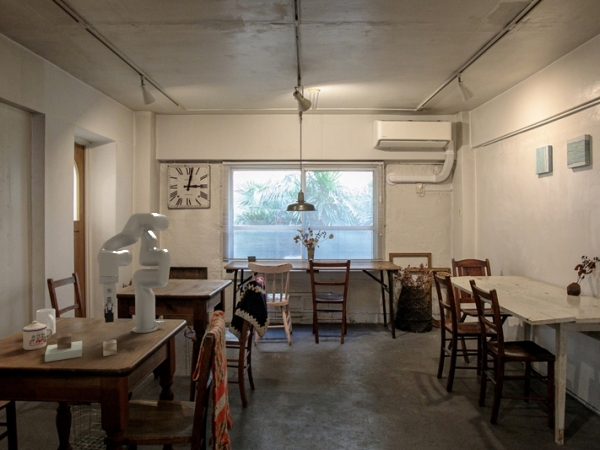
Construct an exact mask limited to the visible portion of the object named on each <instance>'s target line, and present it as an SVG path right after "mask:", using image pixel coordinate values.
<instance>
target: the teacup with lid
mask: <svg viewBox="0 0 600 450" xmlns="http://www.w3.org/2000/svg"><path fill="white" fill-rule="evenodd" d="M48 329H49V330H50V334H49V335H48V336H46V330H48ZM52 333H53V330H52V329H51V328H47V326H46V325H45V324H41V323H37V321H36V320H33V321H31V323H30V324H28V325H26V326H24V327H23V328H22V339H23V341H22V345H23V347H22V348H23V349H24V350H25V351H28V350H29V351H31V350H37V349H42V348H44V347H46V346H47V340H49V338H51V336H53V334H52Z"/></svg>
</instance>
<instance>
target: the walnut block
mask: <svg viewBox="0 0 600 450" xmlns="http://www.w3.org/2000/svg"><path fill="white" fill-rule="evenodd" d="M72 337H73V336H72V332H71V333H70V332H69V333H64V334H63V333H61V334H57V338H56V340H57V342H56V344H57V350H61V349H68V348H71V346H72V342H73V341H72Z"/></svg>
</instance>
